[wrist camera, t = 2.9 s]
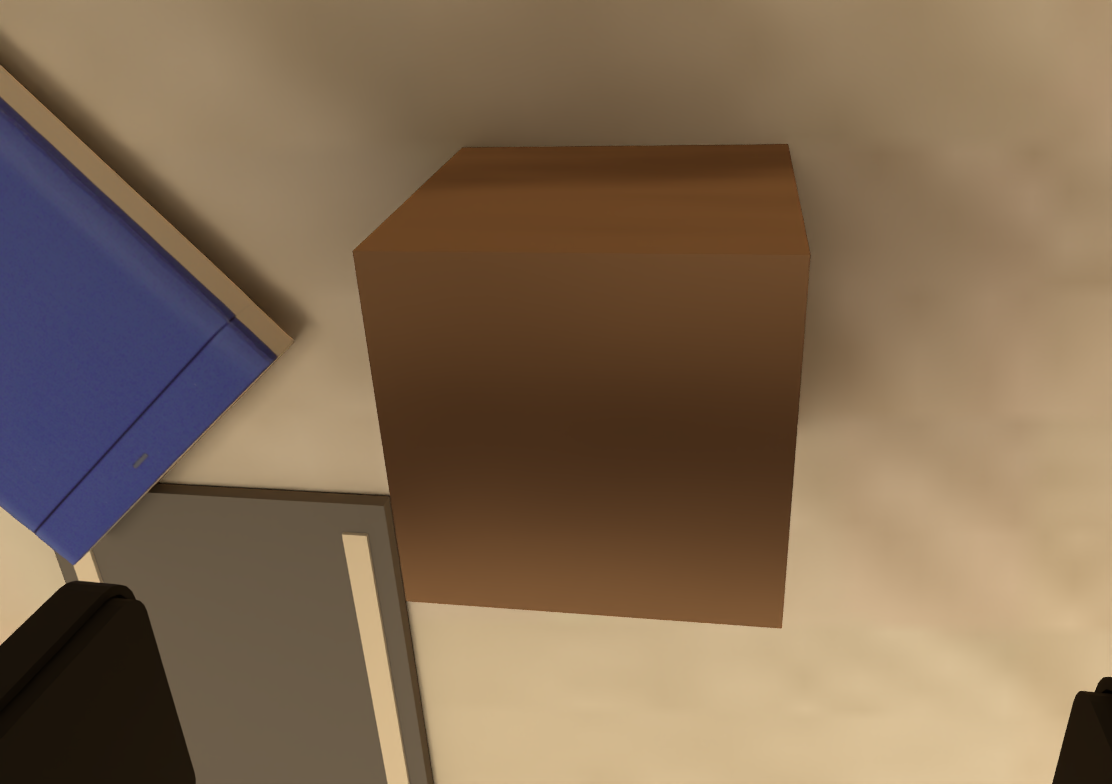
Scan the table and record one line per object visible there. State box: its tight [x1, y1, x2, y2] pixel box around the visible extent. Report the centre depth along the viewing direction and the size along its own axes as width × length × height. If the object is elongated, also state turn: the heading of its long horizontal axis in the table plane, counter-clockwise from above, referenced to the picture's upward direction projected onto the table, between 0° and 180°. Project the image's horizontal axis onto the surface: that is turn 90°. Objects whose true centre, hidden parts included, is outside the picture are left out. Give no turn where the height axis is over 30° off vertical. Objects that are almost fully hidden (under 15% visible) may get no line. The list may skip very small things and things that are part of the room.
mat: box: [54, 484, 433, 784], centre depth 26 cm, size 14×9×1 cm, turn 2°
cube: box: [353, 144, 810, 628], centre depth 16 cm, size 6×6×6 cm
